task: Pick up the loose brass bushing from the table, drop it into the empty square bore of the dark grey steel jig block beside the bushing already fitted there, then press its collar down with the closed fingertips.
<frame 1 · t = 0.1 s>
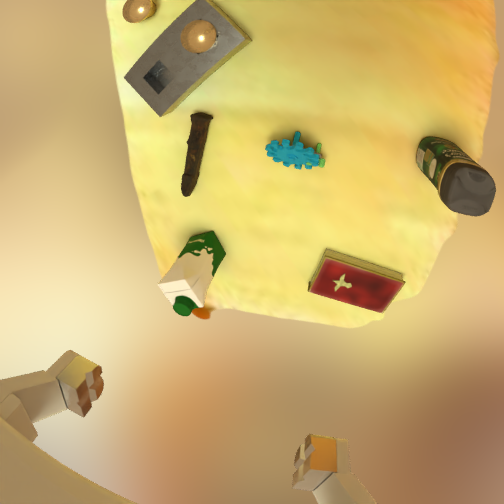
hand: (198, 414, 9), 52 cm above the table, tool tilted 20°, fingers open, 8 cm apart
hardcover book: (356, 276, 70), on the table
milk carton: (208, 244, 74), on the table
bushing: (148, 9, 40), on the table
jig: (189, 56, 46), on the table
coffee jar: (436, 154, 47), on the table
gear: (297, 149, 54), on the table
hand tool: (200, 154, 60), on the table
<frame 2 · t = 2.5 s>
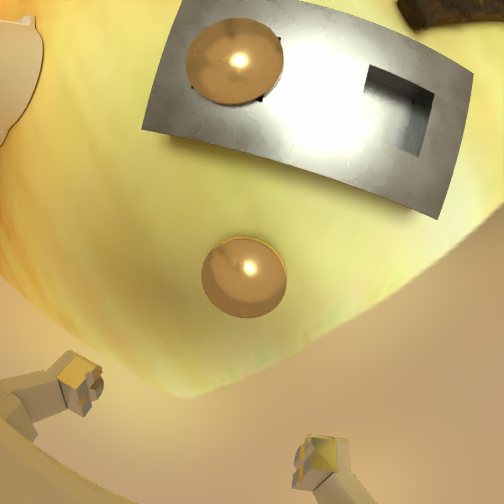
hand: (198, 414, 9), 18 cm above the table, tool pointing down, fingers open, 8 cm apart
bushing: (252, 259, 26), on the table
jig: (313, 95, 21), on the table
hand tool: (466, 8, 15), on the table
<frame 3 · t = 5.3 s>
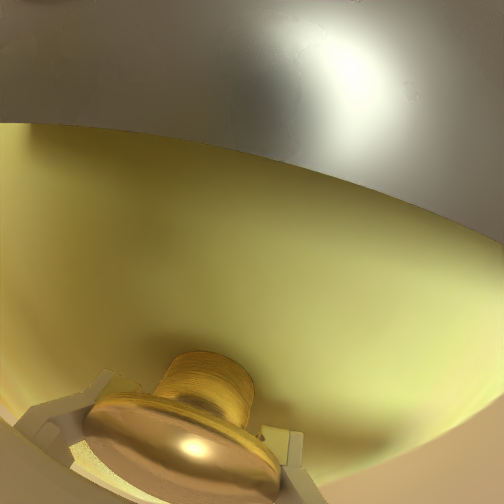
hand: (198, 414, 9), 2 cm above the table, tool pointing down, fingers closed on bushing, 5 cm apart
bushing: (210, 385, 11), on the table, touching gripper
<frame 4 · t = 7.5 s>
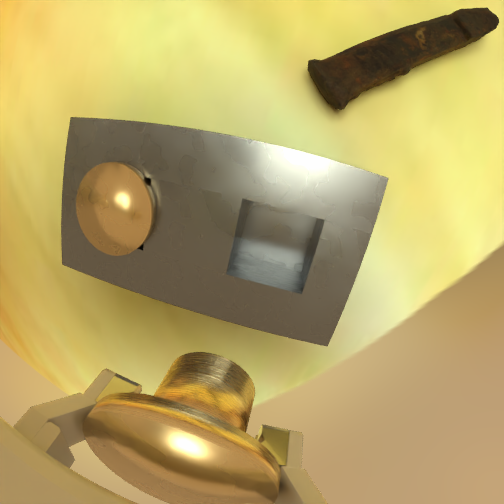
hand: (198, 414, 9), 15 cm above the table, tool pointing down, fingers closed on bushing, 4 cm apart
bushing: (211, 386, 11), point 14 cm above the table, touching gripper
jig: (210, 210, 23), on the table
hand tool: (408, 45, 16), on the table
when the fingers open (8 cm above the table, at t = 10.1 s): bushing drops 4 cm, resting on jig.
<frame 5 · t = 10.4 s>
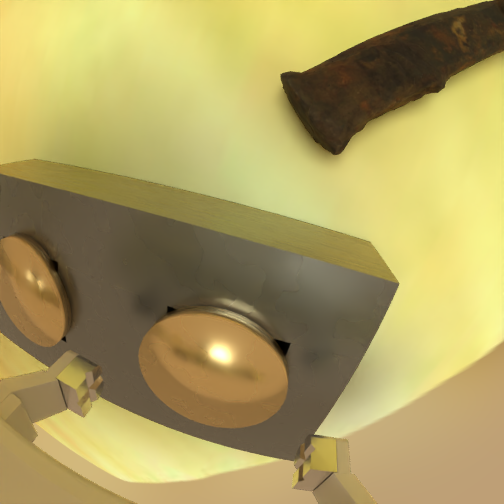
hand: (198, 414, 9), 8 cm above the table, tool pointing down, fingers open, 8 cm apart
bushing: (232, 323, 16), point 1 cm above the table, touching jig
jig: (151, 284, 17), on the table
hand tool: (434, 44, 10), on the table
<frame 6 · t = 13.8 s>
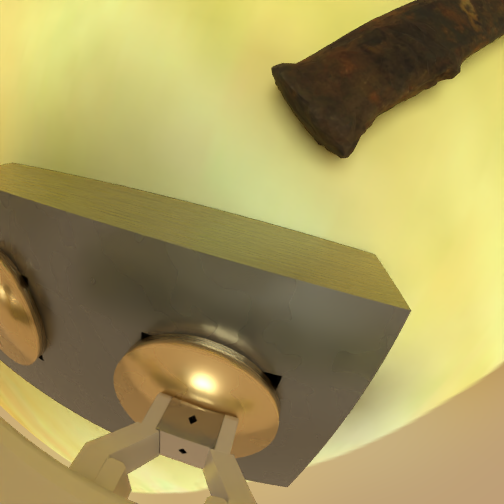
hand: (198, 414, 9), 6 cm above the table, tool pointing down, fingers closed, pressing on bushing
bushing: (219, 344, 14), point 1 cm above the table, touching gripper, jig
jig: (132, 299, 15), on the table
hand tool: (438, 25, 9), on the table
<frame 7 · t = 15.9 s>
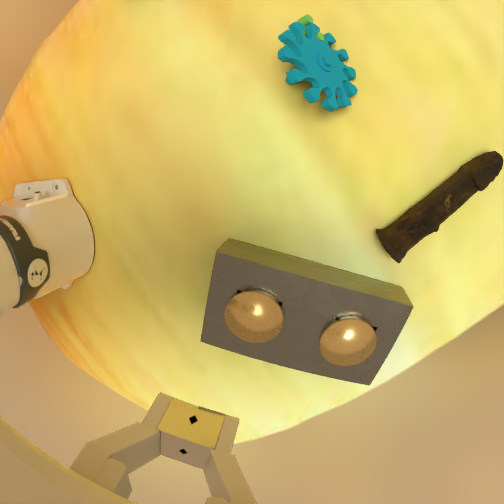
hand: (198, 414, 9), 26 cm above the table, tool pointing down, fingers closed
bushing: (345, 322, 34), point 1 cm above the table, touching jig
jig: (304, 306, 36), on the table
gear: (318, 70, 27), on the table
hand tool: (437, 191, 29), on the table
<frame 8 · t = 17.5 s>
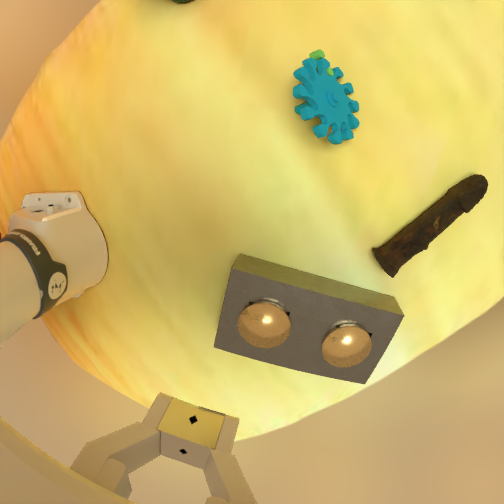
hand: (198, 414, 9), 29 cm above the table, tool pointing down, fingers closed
bushing: (343, 328, 39), point 1 cm above the table, touching jig
jig: (307, 314, 40), on the table
gear: (324, 101, 31), on the table
hand tool: (427, 212, 33), on the table
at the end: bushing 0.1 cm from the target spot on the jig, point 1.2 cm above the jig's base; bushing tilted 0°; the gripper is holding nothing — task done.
